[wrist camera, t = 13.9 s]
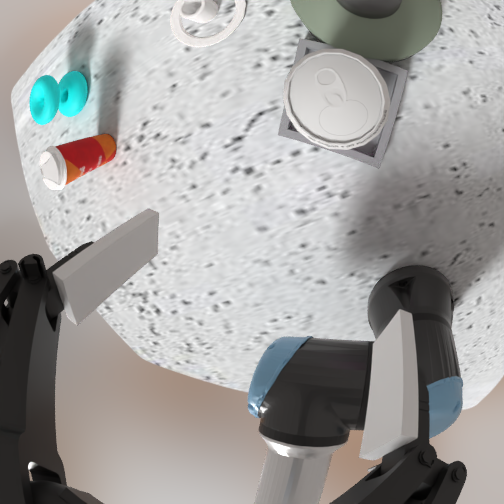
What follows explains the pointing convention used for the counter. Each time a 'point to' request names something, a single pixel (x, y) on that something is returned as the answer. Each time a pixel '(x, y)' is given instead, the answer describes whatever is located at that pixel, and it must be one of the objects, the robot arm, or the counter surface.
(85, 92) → the donuts
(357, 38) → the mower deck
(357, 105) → the supplement can
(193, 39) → the candle holder
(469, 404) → the counter surface
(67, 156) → the paper cup
